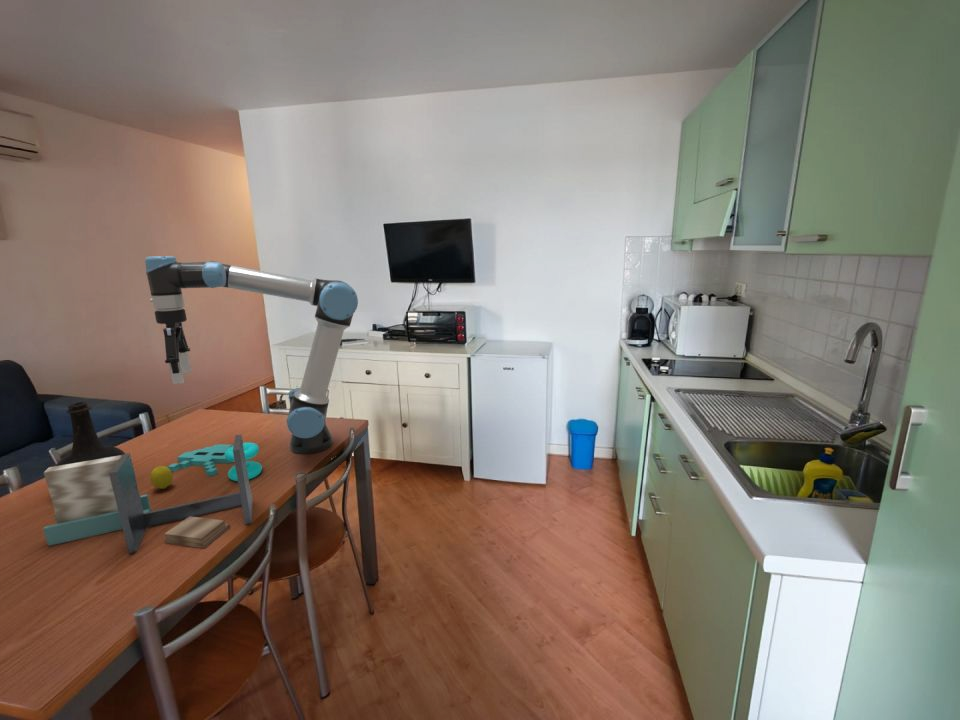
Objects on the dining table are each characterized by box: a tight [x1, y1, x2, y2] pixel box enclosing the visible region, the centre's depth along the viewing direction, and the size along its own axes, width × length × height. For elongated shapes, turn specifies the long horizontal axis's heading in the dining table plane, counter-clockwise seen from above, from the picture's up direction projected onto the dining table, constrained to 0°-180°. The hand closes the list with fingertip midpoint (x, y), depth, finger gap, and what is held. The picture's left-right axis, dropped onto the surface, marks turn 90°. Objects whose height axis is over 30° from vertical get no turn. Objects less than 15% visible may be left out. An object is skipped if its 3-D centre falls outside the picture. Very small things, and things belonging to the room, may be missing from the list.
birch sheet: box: [43, 455, 122, 524], centre depth 115 cm, size 16×3×18 cm, turn 116°
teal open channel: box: [42, 493, 152, 547], centre depth 117 cm, size 20×8×5 cm, turn 116°
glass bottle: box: [55, 401, 126, 466], centre depth 134 cm, size 18×18×28 cm
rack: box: [109, 434, 254, 554], centre depth 114 cm, size 27×12×22 cm, turn 116°
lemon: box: [149, 465, 173, 490], centre depth 135 cm, size 6×6×8 cm
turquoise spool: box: [225, 442, 263, 482], centre depth 142 cm, size 10×10×10 cm
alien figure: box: [165, 443, 234, 477], centre depth 154 cm, size 20×2×20 cm
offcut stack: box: [163, 516, 231, 549], centre depth 113 cm, size 12×8×3 cm
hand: (182, 377), depth 133 cm, fingers open, 13 cm apart
